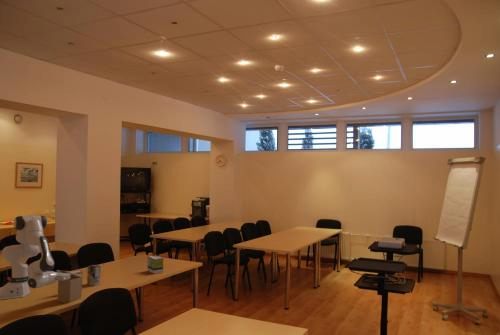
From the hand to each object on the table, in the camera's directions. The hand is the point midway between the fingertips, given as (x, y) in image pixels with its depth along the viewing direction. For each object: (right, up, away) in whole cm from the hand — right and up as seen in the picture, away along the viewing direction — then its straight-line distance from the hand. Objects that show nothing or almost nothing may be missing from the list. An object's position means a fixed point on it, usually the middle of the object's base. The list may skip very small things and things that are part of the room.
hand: (64, 273), depth 286 cm
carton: (+1, -21, +5) cm, 22 cm away
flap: (+1, -2, +5) cm, 5 cm away
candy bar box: (-4, -22, +23) cm, 32 cm away
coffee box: (+3, -23, +47) cm, 52 cm away
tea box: (+44, -25, +95) cm, 108 cm away
